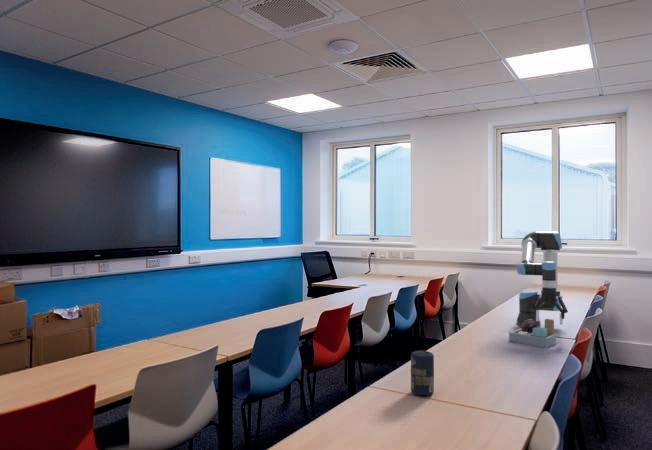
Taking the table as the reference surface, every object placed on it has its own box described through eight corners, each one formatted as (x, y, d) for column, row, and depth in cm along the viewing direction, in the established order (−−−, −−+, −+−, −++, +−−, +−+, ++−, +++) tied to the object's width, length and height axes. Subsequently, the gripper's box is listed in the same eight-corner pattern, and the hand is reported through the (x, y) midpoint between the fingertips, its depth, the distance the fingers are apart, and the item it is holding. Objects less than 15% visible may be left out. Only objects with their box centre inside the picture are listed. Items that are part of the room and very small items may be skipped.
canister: (408, 389, 195) (408, 347, 195) (429, 388, 196) (429, 347, 196) (414, 398, 185) (414, 354, 185) (437, 397, 186) (436, 353, 186)
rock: (518, 335, 290) (534, 337, 283) (517, 322, 289) (533, 324, 282) (525, 329, 298) (541, 331, 291) (524, 316, 297) (540, 318, 290)
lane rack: (519, 336, 281) (519, 328, 281) (555, 343, 266) (555, 334, 266) (509, 340, 272) (509, 332, 272) (546, 347, 256) (546, 339, 256)
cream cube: (519, 339, 275) (519, 331, 275) (528, 340, 272) (528, 332, 272) (517, 341, 271) (517, 332, 271) (526, 342, 268) (526, 334, 268)
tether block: (545, 338, 277) (545, 318, 277) (556, 339, 273) (556, 320, 273) (532, 344, 265) (532, 323, 264) (543, 346, 260) (543, 325, 260)
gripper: (525, 285, 280) (525, 320, 280) (568, 289, 262) (569, 326, 261) (530, 284, 285) (530, 318, 285) (573, 288, 267) (573, 324, 267)
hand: (549, 322), depth 273 cm, fingers open, 13 cm apart
